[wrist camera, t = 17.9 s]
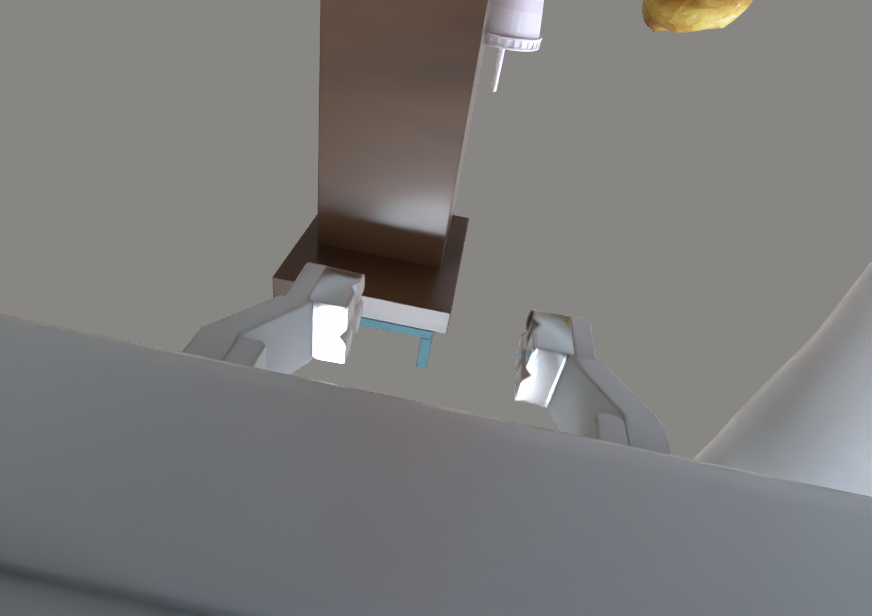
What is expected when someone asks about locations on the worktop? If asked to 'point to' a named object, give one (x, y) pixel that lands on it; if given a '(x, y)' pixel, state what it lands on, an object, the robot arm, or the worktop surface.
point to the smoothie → (514, 29)
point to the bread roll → (691, 14)
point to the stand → (394, 152)
